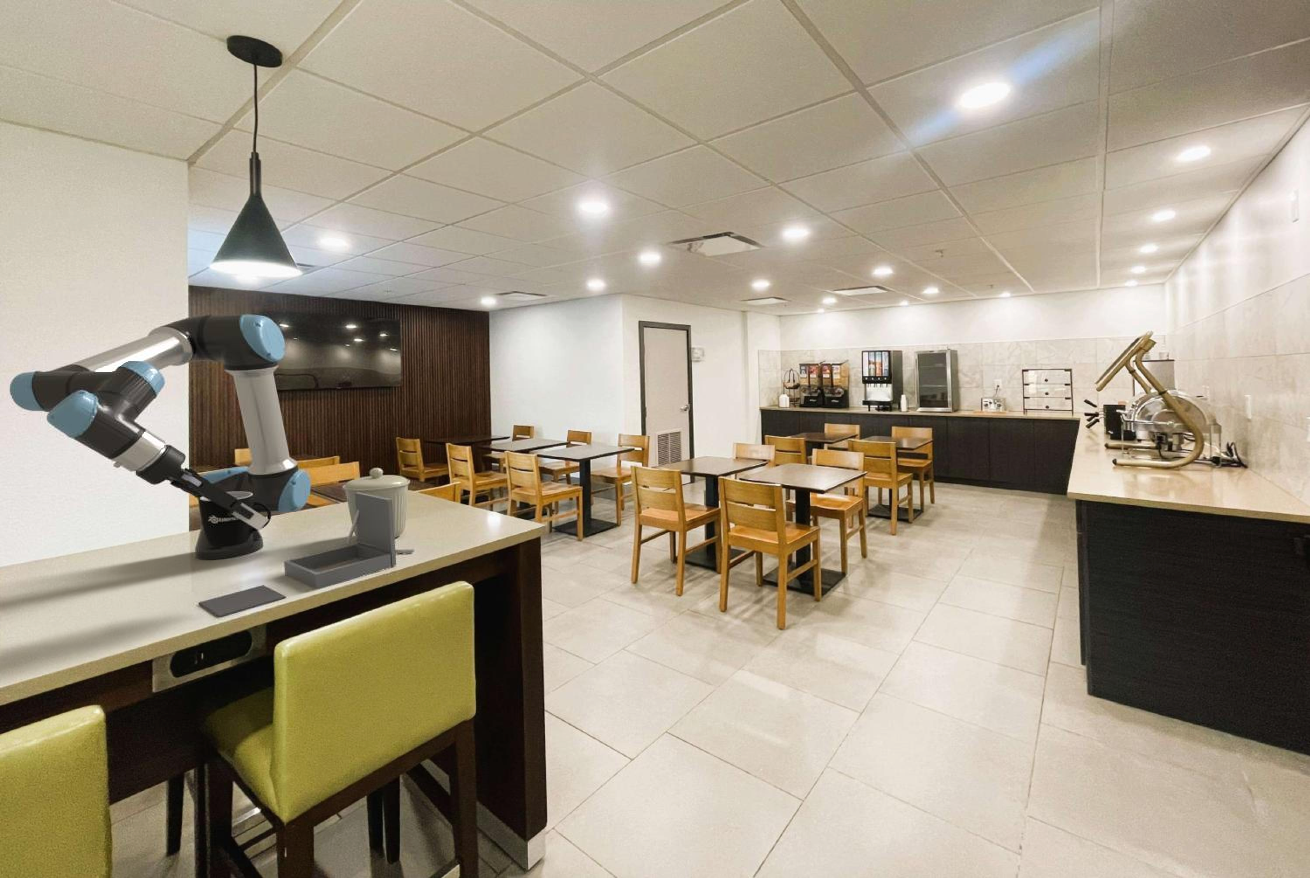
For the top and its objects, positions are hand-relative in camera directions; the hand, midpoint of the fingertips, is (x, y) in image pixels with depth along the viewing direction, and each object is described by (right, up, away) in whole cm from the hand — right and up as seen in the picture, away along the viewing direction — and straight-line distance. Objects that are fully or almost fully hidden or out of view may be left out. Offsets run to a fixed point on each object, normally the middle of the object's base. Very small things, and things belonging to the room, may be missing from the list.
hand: (254, 521), depth 122 cm
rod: (+15, -14, +31) cm, 37 cm away
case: (+9, -15, +17) cm, 24 cm away
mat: (-2, -17, -1) cm, 17 cm away
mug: (-2, -4, -2) cm, 5 cm away
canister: (+4, -12, +47) cm, 49 cm away
